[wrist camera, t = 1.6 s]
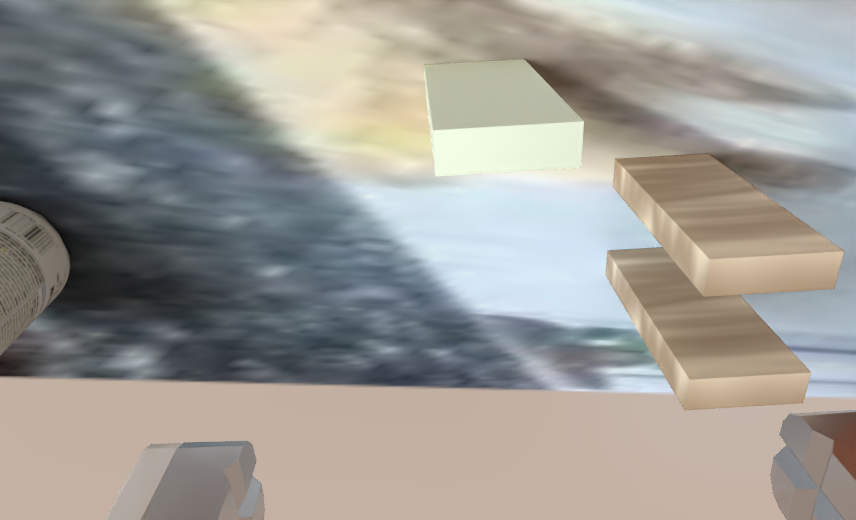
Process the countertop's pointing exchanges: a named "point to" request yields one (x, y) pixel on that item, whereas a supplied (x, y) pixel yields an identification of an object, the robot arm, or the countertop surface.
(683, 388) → the domino
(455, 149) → the domino
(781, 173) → the countertop surface
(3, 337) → the spray can
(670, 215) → the brown wooden flat block
